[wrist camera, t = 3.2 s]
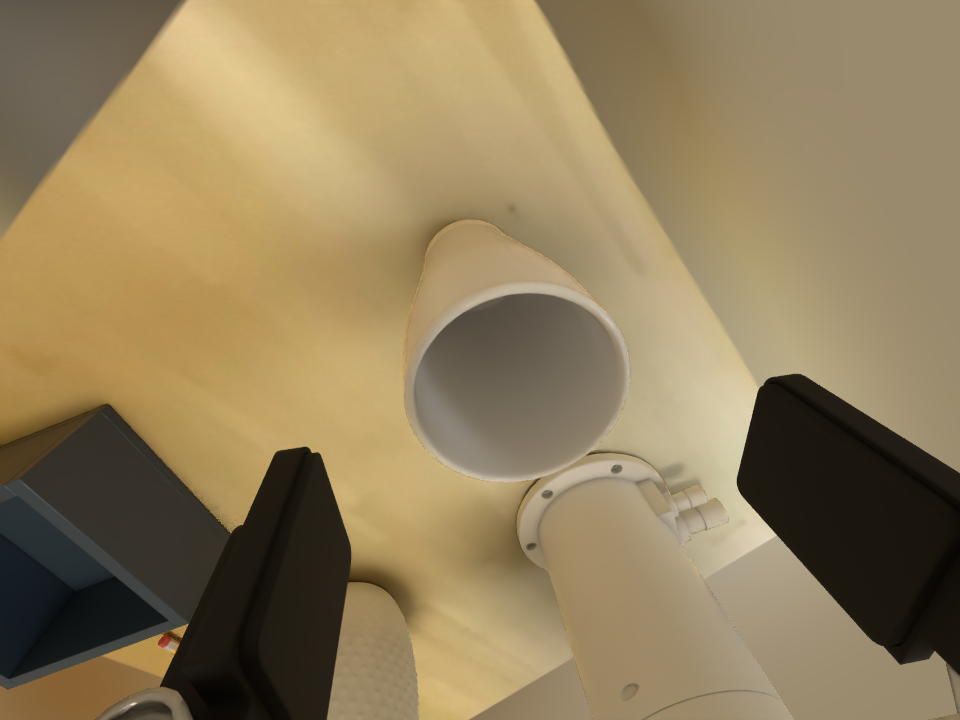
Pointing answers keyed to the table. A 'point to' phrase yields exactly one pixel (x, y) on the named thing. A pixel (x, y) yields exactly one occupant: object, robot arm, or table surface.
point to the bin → (94, 546)
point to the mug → (373, 660)
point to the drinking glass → (508, 359)
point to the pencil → (168, 644)
